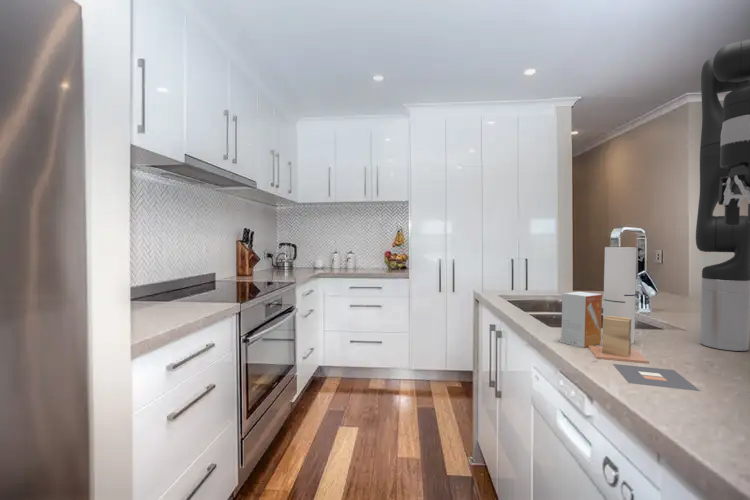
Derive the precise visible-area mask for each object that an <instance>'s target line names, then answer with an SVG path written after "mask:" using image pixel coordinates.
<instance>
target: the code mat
mask: <svg viewBox="0 0 750 500" xmlns="http://www.w3.org/2000/svg"><path fill="white" fill-rule="evenodd" d="M612 365H613V366H614V368H615V369H616V370H617V371H618V372H619V374H620V375H621V376H622V377H623V378H624V379H625V381H626V382H627V383H628V384H632V385H643V386H644V385H645V386H652V387H659V388H669V389H677V390H678V389H679V390H680V389H681V390H686V391H687V390H689V391H696V392H701V389H699V388H698V387H696V386H695V385H694V384H692V383H691V382H690V381H689V380H688V379H687V378H685V377H684V376H682V375H681V374H680V373H679V372H678V371H676V370H674V369H668V368H659V367H658V368H657V367H647V366H638V365H637V366H636V365H629V364H628V365H627V364H617V363H612Z"/></svg>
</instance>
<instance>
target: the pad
mask: <svg viewBox="0 0 750 500" xmlns="http://www.w3.org/2000/svg"><path fill="white" fill-rule="evenodd" d="M587 348H588V350H589V351H590V352H591V353H592V354H593V357H595V359H597V360H603V361H604V360H606V361H615V362H627V363H636V364H645V365H646V364H647V365H649V364H650V360H648V359H647V358H646V357H644V355H642V354H641V353H640V352H639V351H637V350H636V349H635V348H631V353H630V354H629V356H628V357H623V356H617V355H611V354H605V353H602V345H601V346H599V345H593V346H591V345H588V347H587Z"/></svg>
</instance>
